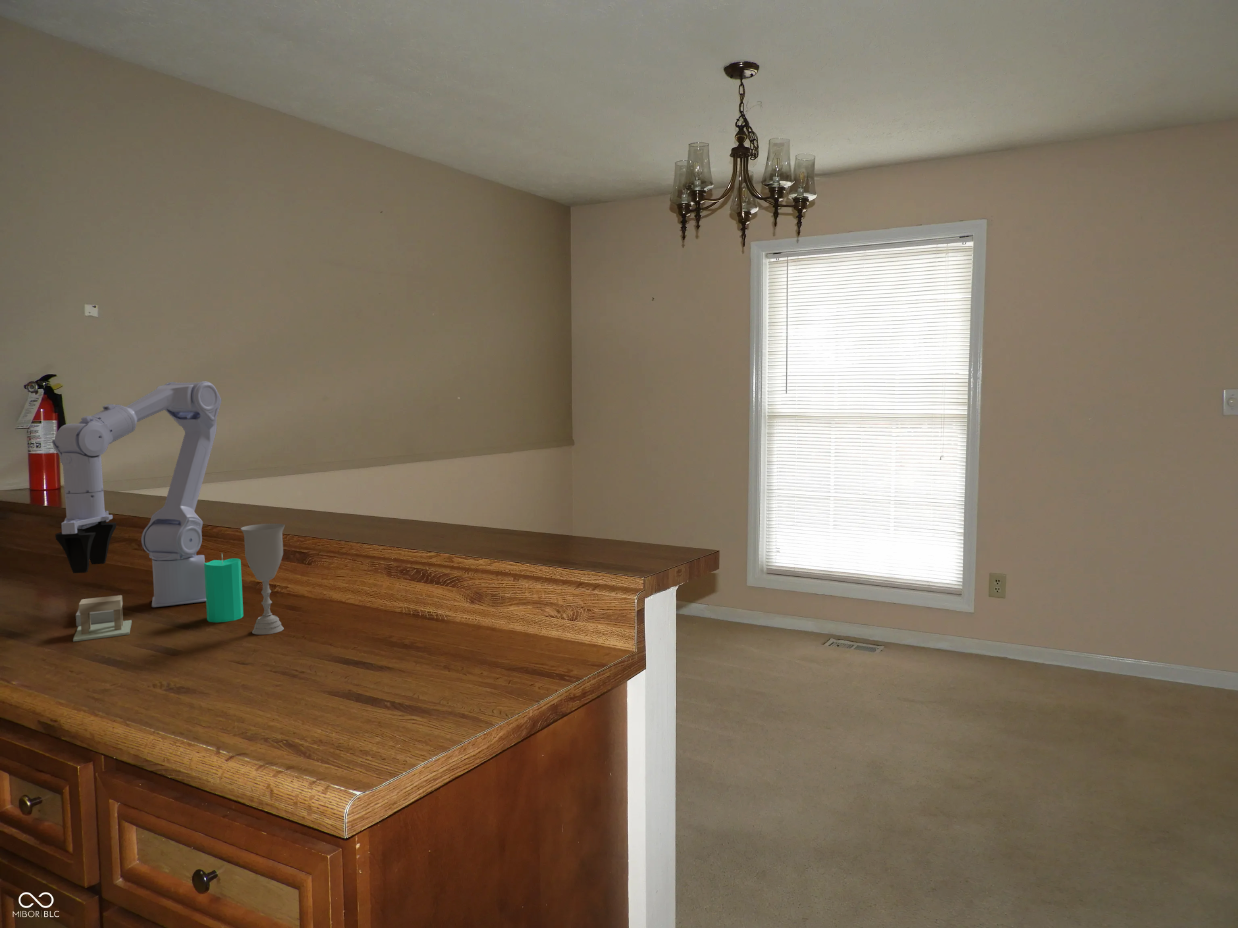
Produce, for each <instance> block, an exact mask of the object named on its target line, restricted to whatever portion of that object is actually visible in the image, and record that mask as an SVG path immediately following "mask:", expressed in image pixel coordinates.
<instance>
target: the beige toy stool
mask: <svg viewBox="0 0 1238 928" xmlns="http://www.w3.org/2000/svg"><path fill="white" fill-rule="evenodd" d="M123 605H124V604H123V595H121V594H120V595H119V594H118V595H111V596H102V597H101V596H100V597H92V598H85V599H84V598H83V599H82V598H81V600H80V601H79V603H78V609H79V613H80V617H81V632H82V634H89V630H90V629H91V619H90V612H99V611H108V610H114V626H115V630H122V626H123V621H124V617H123V615H124V614H123Z"/></svg>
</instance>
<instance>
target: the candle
mask: <svg viewBox="0 0 1238 928" xmlns="http://www.w3.org/2000/svg"><path fill="white" fill-rule="evenodd" d="M223 558H224V557H223V552H221V560H220V559H218V560H217V559H213V560H211V561H209V562H205V563H204V571H205V590H206V601H205V605H206V606H205V607H206V608H205V609H206V621H208V622H209V623H226V622H227V623H228V622H233V621H237V620H240V619H242V618H243V617H244V604H243V602H244V601H243V600H244V599H243V581H242V580H243V579H242V563H241V562H242V561H241V559H240V558H235V557H234V558H233V557H232V558H228V559H223Z"/></svg>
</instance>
